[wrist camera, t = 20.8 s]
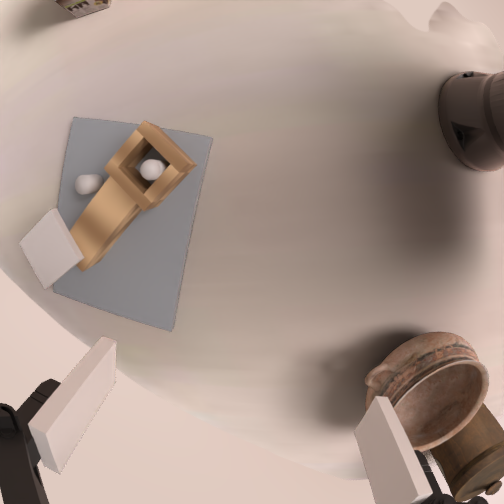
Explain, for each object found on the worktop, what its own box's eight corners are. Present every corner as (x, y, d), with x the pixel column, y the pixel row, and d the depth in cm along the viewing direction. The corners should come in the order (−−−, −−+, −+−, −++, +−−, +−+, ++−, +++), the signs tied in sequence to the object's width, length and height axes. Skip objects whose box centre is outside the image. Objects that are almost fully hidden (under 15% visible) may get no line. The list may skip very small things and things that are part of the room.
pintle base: (73, 118, 35) (36, 109, 27) (212, 138, 36) (199, 128, 28) (53, 286, 42) (20, 307, 33) (173, 326, 42) (156, 360, 34)
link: (158, 126, 34) (144, 120, 30) (197, 164, 35) (187, 163, 31) (74, 231, 38) (53, 239, 33) (106, 267, 39) (89, 279, 34)
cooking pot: (317, 388, 44) (329, 444, 33) (387, 287, 40) (426, 327, 28) (419, 419, 47) (442, 462, 35) (480, 341, 42) (517, 376, 30)
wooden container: (413, 449, 49) (446, 524, 28) (443, 398, 45) (494, 477, 24) (461, 439, 49) (498, 502, 28) (490, 391, 46) (541, 453, 24)
